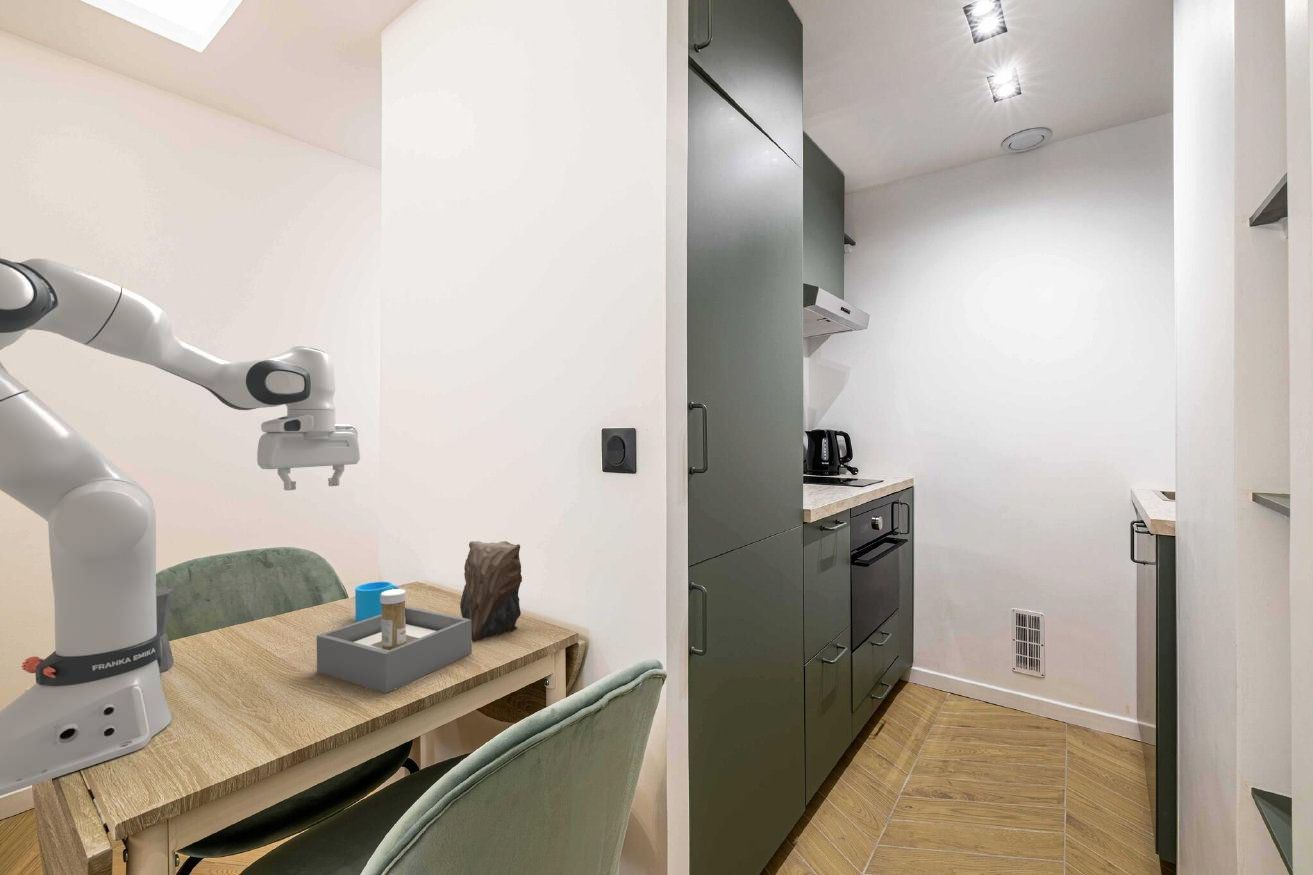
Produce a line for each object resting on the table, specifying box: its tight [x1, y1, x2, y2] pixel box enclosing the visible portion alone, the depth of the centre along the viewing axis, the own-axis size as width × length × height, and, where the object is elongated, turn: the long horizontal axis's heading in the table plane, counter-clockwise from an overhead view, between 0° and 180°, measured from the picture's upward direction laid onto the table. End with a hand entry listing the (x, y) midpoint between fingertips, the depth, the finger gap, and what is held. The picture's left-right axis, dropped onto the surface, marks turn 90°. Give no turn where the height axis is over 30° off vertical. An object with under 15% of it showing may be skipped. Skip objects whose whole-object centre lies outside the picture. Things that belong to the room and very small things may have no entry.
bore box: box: [316, 605, 473, 694], centre depth 112 cm, size 20×20×7 cm
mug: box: [354, 581, 400, 623], centre depth 140 cm, size 12×8×8 cm
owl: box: [459, 540, 523, 642], centre depth 130 cm, size 13×13×20 cm
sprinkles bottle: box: [381, 588, 407, 650], centre depth 111 cm, size 5×5×13 cm
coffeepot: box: [156, 586, 175, 674], centre depth 107 cm, size 15×9×18 cm, turn 6°
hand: (312, 487), depth 120 cm, fingers open, 8 cm apart
